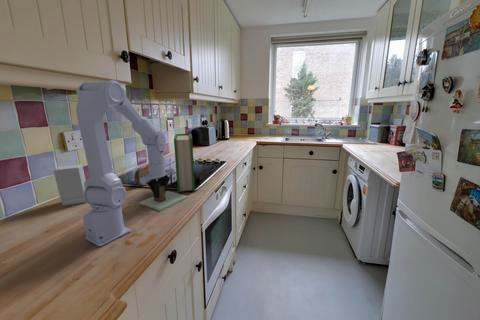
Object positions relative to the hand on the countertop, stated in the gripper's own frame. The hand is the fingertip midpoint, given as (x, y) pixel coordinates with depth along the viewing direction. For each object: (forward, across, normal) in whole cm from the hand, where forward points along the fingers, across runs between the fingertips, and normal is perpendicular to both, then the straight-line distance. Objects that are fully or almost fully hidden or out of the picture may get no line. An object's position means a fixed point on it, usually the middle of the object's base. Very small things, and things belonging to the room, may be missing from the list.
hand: (159, 195), depth 90 cm
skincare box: (+3, +17, -30) cm, 35 cm away
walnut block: (+2, 0, 0) cm, 2 cm away
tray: (+3, -2, 0) cm, 3 cm away
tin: (+3, -13, -26) cm, 29 cm away
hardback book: (+3, -19, -5) cm, 20 cm away
